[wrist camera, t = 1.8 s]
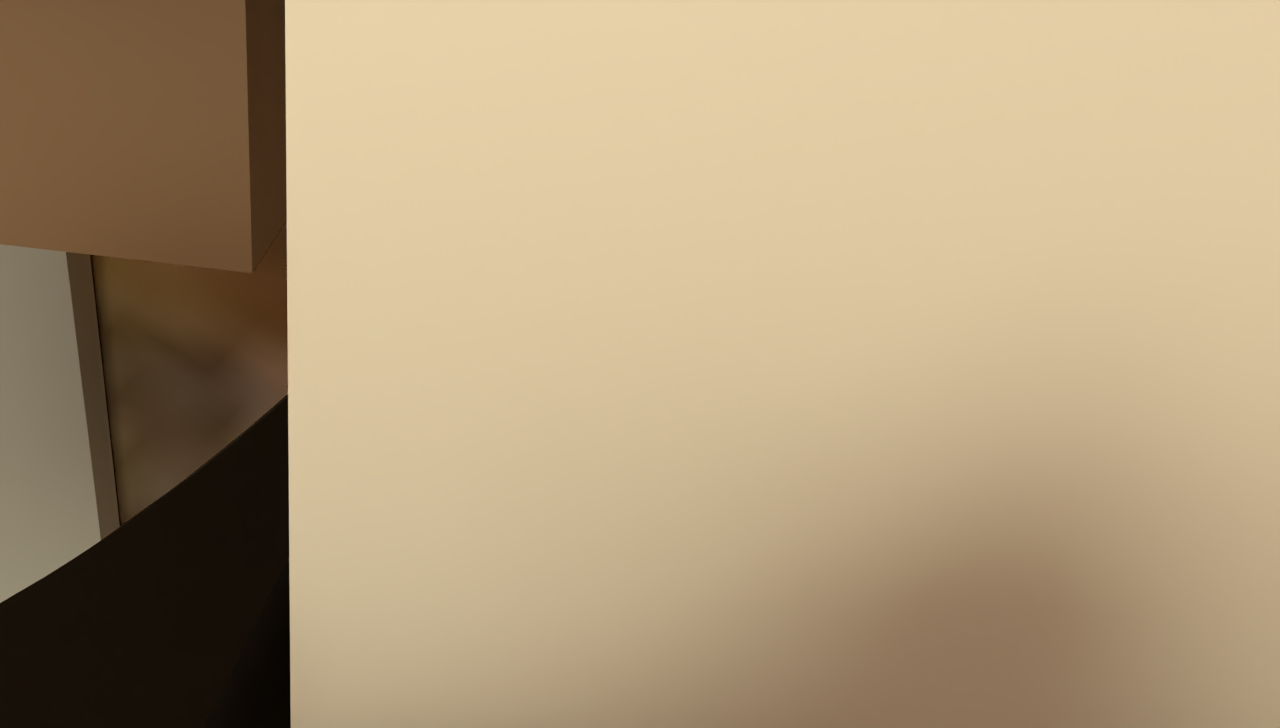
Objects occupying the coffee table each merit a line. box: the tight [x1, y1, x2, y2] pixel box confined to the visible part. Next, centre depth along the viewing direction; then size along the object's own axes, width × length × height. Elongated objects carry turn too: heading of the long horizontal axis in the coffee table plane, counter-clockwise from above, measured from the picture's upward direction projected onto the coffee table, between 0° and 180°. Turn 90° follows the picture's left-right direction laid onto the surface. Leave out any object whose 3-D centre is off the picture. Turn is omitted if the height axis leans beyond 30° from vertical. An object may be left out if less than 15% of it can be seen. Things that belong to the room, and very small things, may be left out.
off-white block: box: [285, 0, 1280, 728], centre depth 7 cm, size 10×5×7 cm, turn 171°
